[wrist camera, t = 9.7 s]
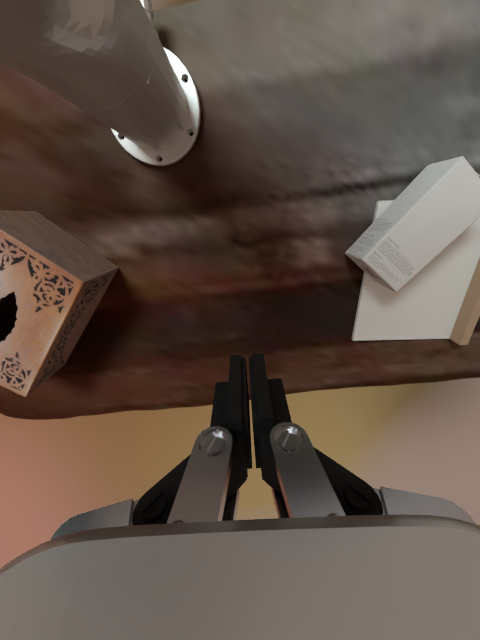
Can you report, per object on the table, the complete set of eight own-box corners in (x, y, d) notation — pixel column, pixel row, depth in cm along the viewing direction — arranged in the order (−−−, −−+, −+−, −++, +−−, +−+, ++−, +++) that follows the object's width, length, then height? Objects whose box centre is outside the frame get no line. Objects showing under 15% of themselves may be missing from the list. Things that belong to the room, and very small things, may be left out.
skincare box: (374, 283, 40) (458, 204, 35) (398, 294, 34) (503, 202, 29) (342, 251, 38) (426, 163, 33) (361, 258, 32) (467, 151, 27)
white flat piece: (376, 201, 36) (387, 200, 33) (508, 195, 35) (530, 194, 33) (351, 339, 46) (358, 347, 43) (454, 336, 45) (467, 344, 42)
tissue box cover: (37, 211, 38) (-30, 210, 28) (119, 267, 41) (84, 282, 32) (-6, 325, 46) (-67, 352, 37) (65, 363, 50) (25, 397, 41)
